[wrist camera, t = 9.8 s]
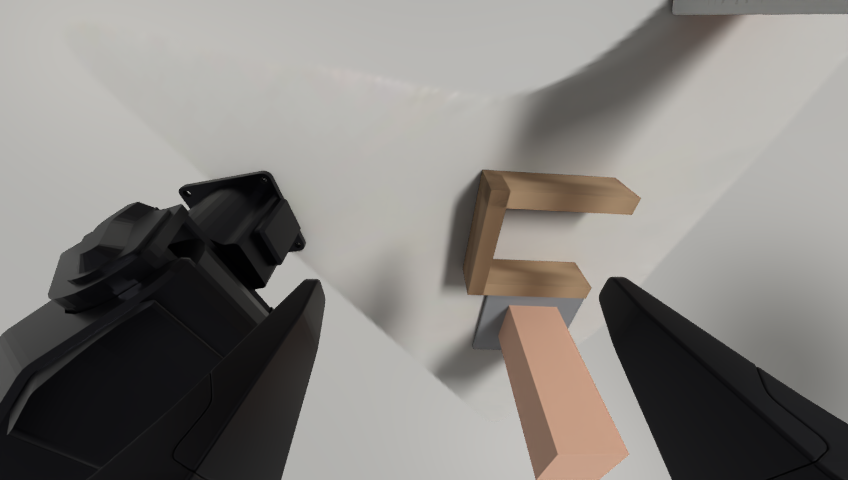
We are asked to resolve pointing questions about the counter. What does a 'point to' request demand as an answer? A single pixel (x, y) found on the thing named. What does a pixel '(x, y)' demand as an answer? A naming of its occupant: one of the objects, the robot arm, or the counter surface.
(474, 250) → the u-shaped frame
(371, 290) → the counter surface
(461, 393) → the counter surface
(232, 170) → the counter surface
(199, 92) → the counter surface
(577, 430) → the block
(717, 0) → the skincare box
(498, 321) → the mat
